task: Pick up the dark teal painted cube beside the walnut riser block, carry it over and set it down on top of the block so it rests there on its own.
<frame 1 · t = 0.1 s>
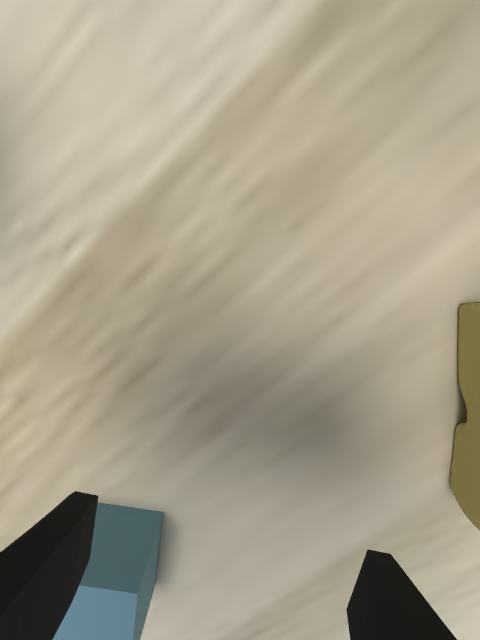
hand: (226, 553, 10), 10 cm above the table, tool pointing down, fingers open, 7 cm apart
teal cube: (116, 541, 23), on the table
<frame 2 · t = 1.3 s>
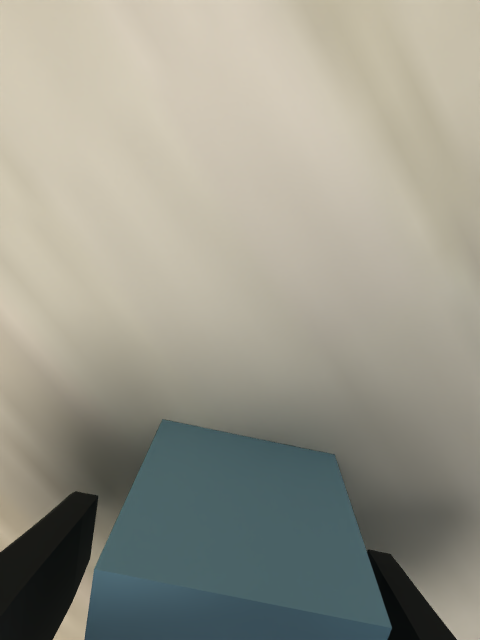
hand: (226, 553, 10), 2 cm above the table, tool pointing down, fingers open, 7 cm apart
teal cube: (231, 507, 12), on the table
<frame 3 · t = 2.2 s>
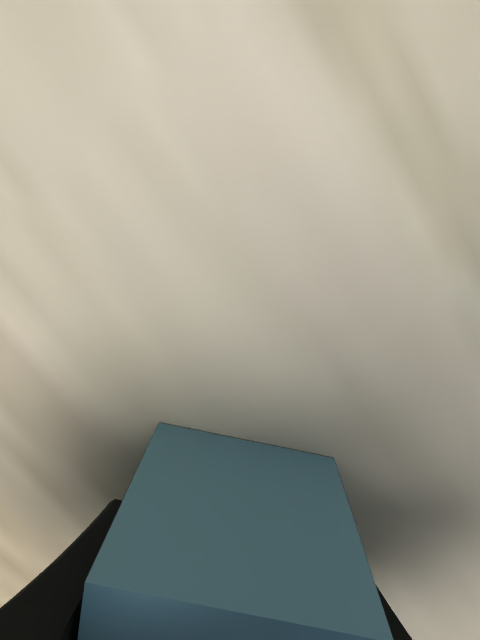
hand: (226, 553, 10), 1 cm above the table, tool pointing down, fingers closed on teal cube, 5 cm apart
teal cube: (229, 513, 12), on the table, touching gripper
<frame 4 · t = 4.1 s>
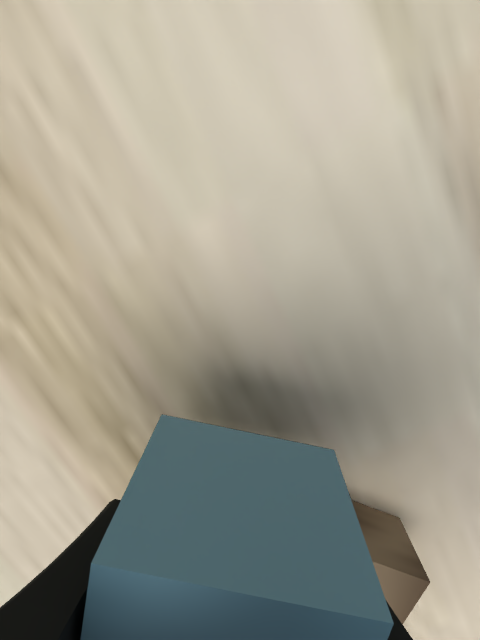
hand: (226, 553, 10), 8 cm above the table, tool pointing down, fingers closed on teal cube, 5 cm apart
teal cube: (230, 505, 12), point 7 cm above the table, touching gripper
walnut riser: (255, 557, 21), on the table
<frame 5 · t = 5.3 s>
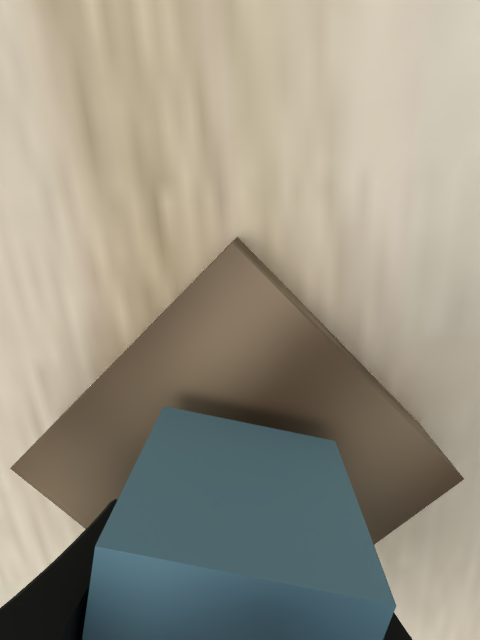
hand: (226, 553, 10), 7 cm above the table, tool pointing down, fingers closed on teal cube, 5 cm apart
teal cube: (232, 497, 12), point 5 cm above the table, touching gripper
walnut riser: (237, 416, 17), on the table
when the fingers open (7 cm above the table, at t = 5.9 s): teal cube drops 2 cm, resting on walnut riser.
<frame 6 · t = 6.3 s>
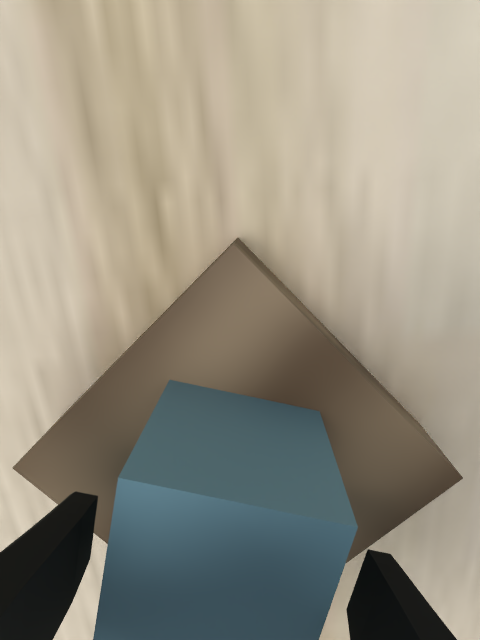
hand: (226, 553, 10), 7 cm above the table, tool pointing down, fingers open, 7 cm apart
teal cube: (229, 460, 14), point 3 cm above the table, touching walnut riser
walnut riser: (238, 416, 18), on the table, touching teal cube
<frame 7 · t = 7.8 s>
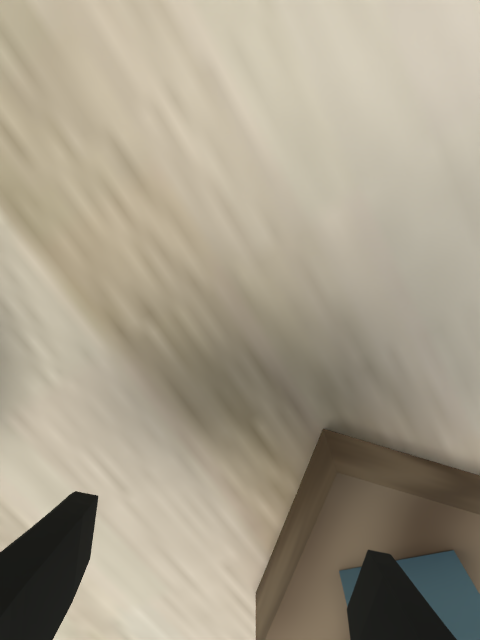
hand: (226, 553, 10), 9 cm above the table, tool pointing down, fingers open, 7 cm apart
teal cube: (404, 604, 18), point 4 cm above the table, touching walnut riser
walnut riser: (381, 537, 22), on the table, touching teal cube
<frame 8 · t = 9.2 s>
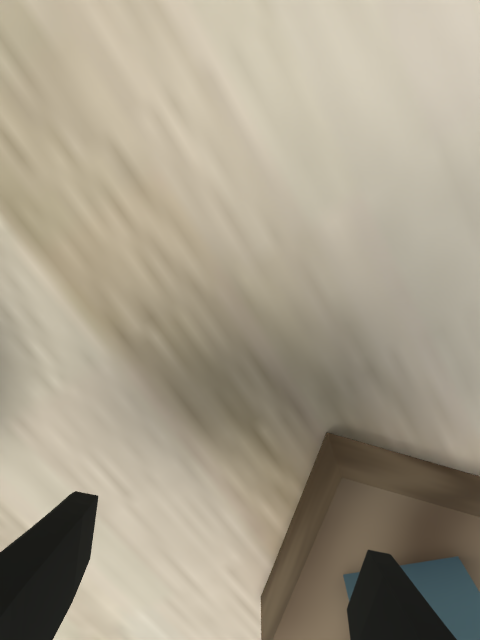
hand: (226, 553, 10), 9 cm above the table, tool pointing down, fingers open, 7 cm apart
teal cube: (407, 609, 18), point 4 cm above the table, touching walnut riser
walnut riser: (386, 540, 22), on the table, touching teal cube
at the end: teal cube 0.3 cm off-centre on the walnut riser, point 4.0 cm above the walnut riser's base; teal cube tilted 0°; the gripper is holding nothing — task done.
